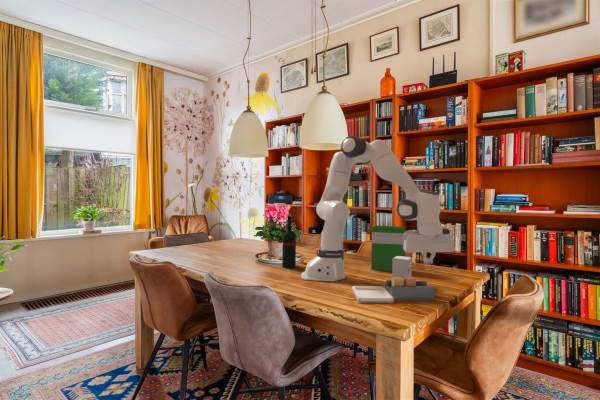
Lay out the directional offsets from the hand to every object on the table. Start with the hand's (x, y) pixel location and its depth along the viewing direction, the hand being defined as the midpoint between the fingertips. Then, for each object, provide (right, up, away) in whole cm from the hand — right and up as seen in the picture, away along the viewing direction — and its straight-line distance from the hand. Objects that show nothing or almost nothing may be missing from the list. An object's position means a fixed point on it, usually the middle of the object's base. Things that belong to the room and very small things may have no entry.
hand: (428, 262), depth 140 cm
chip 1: (-13, -10, 0) cm, 16 cm away
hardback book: (-4, -13, +48) cm, 50 cm away
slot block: (-8, -14, 0) cm, 16 cm away
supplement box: (-5, -14, +19) cm, 24 cm away
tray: (-24, -14, 0) cm, 27 cm away
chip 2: (-8, -10, 0) cm, 13 cm away
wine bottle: (-59, -12, +53) cm, 80 cm away
